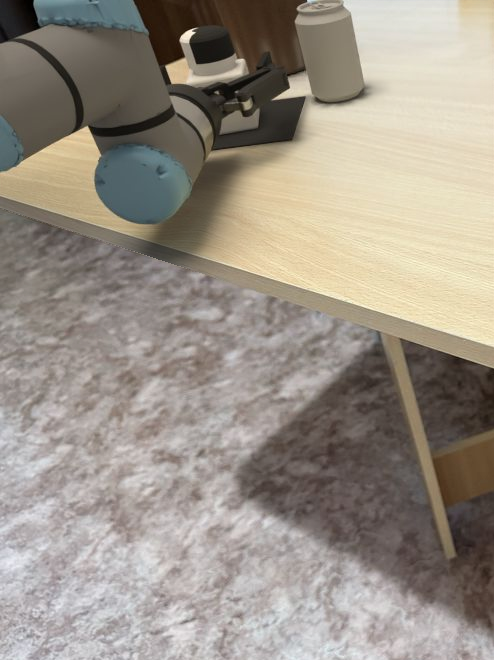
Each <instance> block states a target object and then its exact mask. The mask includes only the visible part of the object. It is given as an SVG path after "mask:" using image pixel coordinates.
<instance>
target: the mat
mask: <svg viewBox="0 0 494 660" xmlns="http://www.w3.org/2000/svg"><path fill="white" fill-rule="evenodd" d="M305 100H306V95H304V96H295V97H294V96H293V97H288V98H280V99H279V98H278V99H272V100H271V101H269V102H268V103H266V104H264V105H263V106H261V107H260V108H259V109H260V112H259V124H258V128H257V129H252V130H246V131H241V132H235V133H229V134H224V135H219V136H218V138H217V140H216V142H215V144H214V146H213V148H212V149H211V151H217V150H224V149H232V148H233V149H234V148H240V147H248V146H256V145H263V144H272V143H281V142H286V141H293V139H294V135H295V132H296V129H297V126H298V122H299V119H300V115H301V112H302V110H303V107H304V104H305Z"/></svg>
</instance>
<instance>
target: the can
mask: <svg viewBox="0 0 494 660" xmlns="http://www.w3.org/2000/svg"><path fill="white" fill-rule="evenodd" d="M344 3H345V2H344V0H310V1H307V3H304V4H301V5H300V6H298V7H297V11H298V12H299V14H298V16H297V18H296V20H295V25H296V29H297V33H298V38H299V42H300V46H301V50H302V54H303V58H304V62H305V67H306V69H305V71H306V74H307V78H308V83H309V88H310V91H311V95H313V96H314V97H315V98H318V100H319V101H321V102H325V103H339V102H344V101H348V100H351V99H354V98H356V97H357V96H359V94H360V93H361V91H362V90H363V89H364V87H365V80H364V74H363V70H362V63H361V59H360V53H359V48H358V43H357V39H356V33H355V28H354V21H353V18H352V13H351V11H350V10H349V9H347V8H346V7H345V6H344Z"/></svg>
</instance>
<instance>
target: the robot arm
mask: <svg viewBox="0 0 494 660" xmlns="http://www.w3.org/2000/svg"><path fill="white" fill-rule="evenodd" d="M33 8H34V11H35V15H36V17H37V23H38V26H39V28H38V29H36V30H32V31H30V32H27V33H24V34H22V35H19V36H17V37H14V38H10V39H8V40H6V41H3V42H0V173H2V172H8V171H9V170H11V169H13V168H17V167H18V166H19V165H20V164H21V163H22V162H24V161H26V160H27V159H29V158H30V157H32V156H34V155H36V154H37V153H39V152H41V151H43V150H44V149H46V148H48V147H49V146H52V145H53V144H55V143H57V142H59V141H61V140H62V139H64V138H66V137H69V136H71V135H73V134H75V133H76V132H78V131H81V130H82V129H85V128H86V127H87V128H88V130H89V133H90V134H91V136H92V139H93V141H94V143H95V145H96V148H97V149H98V152H99V154H100V156H99V157H98V160H97V162H98V163H97V165H96V167H95V170H94V175H93V182H94V189H95V192H96V194H97V196H98V198H99V200H100V201H101V203H102V204H103V205H104V206H105V207H106V209H108V210H109V211H110V212H111V213H112V214H114V215H115V216H117V217H119V218H120V219H122V220H124V221H126V222H129V223H133V224H137V225H149V226H151V225H153V226H154V225H157V224H161V223H164V222H166V221H167V220H169V219H171V218H173V216H175V214H176V213H177V212H178V211H179V210H180V208H181V207H182V206H183V204H184V203H185V202H186V201H188V199H189V198H190V197H191V196H190V195H191V193H192V188H193V186H194V184H195V182H196V180H197V178H198V176H199V174H200V172H201V170H202V168H203V166H204V164H205V162H206V161H207V158H208V157H209V155H210V153H211V152H212V150H211V149H212V148H213V146H214V144H215V142H216V140H217V138H218V136H219V134H220V130H221V123H222V119H223V118H225V117H226V116H228V115H229V114H231V113H234V112H235V111H239V110H240V112H241V113H242V116H243V117H250V116H252V115H253V114H254V112H255V111H256V110H257V109H258V108H260V107H261V106H263V105H264V104H266V103H268V102H269V101H271V100H275V99H276V98H277V97H279V96H281V95H282V94H283V93H285V92H286V91H288V90H290V88H291V85H290V81H289V78H288V74H287V73H286V69H285V67H284V66H279V67H276V64H275V63H273V62H272V59H271V55H270V51H267V52H263V54H262V56H261V58H260V60H259V62H258V64H257V66H256V69H257V71H255V72H252V73H250V74H248V75H245V76H243V77H240V78H238V79H236V80H233V81H231V82H228V83H223V82H216V83H214V84H212V85H209V86H207V87H204V88H203V87H198V88H195V87H193V86H190V85H186V84H185V83H172V81H171V78H170V75H169V72H168V70H167V67H166V65H165V64H161V65H160V64H159V62H158V60H157V56H156V54H155V51H154V49H153V45H152V44H151V40H150V37H149V36H150V33H149V30H148V29H147V28H146V26H145V23H144V21H143V19H142V16H141V14H140V12H139V11H140V10H139V9H138V7H137V5H136V4H135V1H134V0H33ZM216 91H218V92H219V94H217V93H214V92H216Z"/></svg>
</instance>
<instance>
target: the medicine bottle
mask: <svg viewBox="0 0 494 660" xmlns="http://www.w3.org/2000/svg"><path fill="white" fill-rule="evenodd" d="M179 44H180V46H181V49H182V52H183V55H184V58H185V60H186V64H187V66H188V69H189V72H188V75H187V78H186V80H185V83H184V84H186V85H190V86H193V87H195V88H198V87H203V88H204V87H207V86H209V85H212V84H214V83H216V82H223V83H228V82H231V81H233V80H236V79H238V78H240V77H243V76H245V75H248V74H249V72H248V68H247V65H246V61H245V60H244V59H237V56H236V53H235V50H234V46H233V43H232V40H231V36H230V33H229V30H227V29H226V28H225V27H224V26H221V25H216V24H213V25H212V24H211V25H210V24H209V25H203V26H198V27H195V28H192V29H189V30H187V31H185V32H184V33H183V34H182V35H181V36H180V38H179ZM214 93H217V94H219V92H218V91H216V92H214ZM259 112H260V109H259V108H258V109H257V110H256V111H255V112H254V114H253V115H252V116H250V117H243V116H242V113H241V112H240V110H239V111H235V112H234V113H231V114H229V115H228V116H226V117H225V118H223V119H222V123H221V130H220V134H219V135H224V134H229V133H235V132H241V131H246V130H252V129H257V128H258V124H259Z"/></svg>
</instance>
